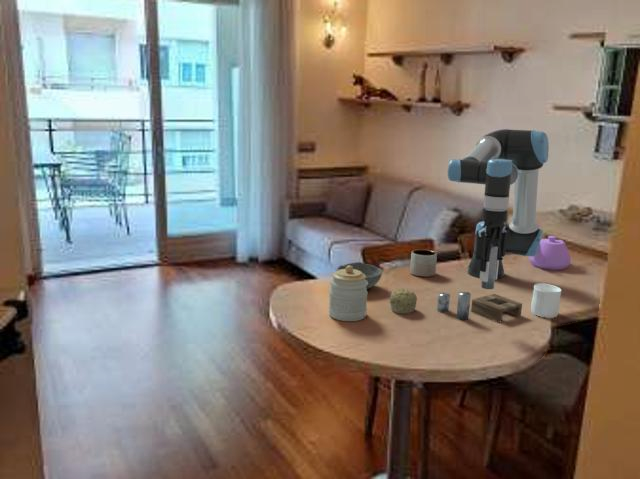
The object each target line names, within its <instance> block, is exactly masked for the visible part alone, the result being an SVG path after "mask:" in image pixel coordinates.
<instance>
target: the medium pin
mask: <svg viewBox="0 0 640 479" xmlns="http://www.w3.org/2000/svg"><path fill="white" fill-rule="evenodd" d="M471 296H472V294H471V293H470V292H468V291H459V292H458V296H457V305H456V320H458V321H462V322H463V321H468V320H469V318H470V316H469V315H470V307H471V306H470V305H471Z"/></svg>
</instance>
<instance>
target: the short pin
mask: <svg viewBox="0 0 640 479" xmlns="http://www.w3.org/2000/svg"><path fill="white" fill-rule="evenodd" d="M437 297H438V298H437V307H436V310H437V312H439V313H448V312H450V310H449V309H450V300H451V294H450V293H447V292H439V293H438V295H437Z"/></svg>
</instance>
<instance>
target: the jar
mask: <svg viewBox="0 0 640 479" xmlns="http://www.w3.org/2000/svg"><path fill="white" fill-rule="evenodd" d="M331 276H332V278H331V279H330V280H329V284H330V289H329V292H328V293H329V306H328V314H329V317H331V318H333V319H334V320H338V321H341V322H342V321H343V322H358V321H361V320H363V319H365V317H366V315H367V311H368V309H367V308H368V307H367V302H368V289H366V286H367V285H368V282H367V281H366V280H365V278H366V275H365V274H363V273H362V272H361V271H359V270H355V269H353V267H352V266H350V265H349V266H347V267H346V269H340V270H338V271H337V270H336V271H335V272H333V274H332V275H331Z"/></svg>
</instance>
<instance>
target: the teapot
mask: <svg viewBox="0 0 640 479" xmlns="http://www.w3.org/2000/svg"><path fill="white" fill-rule="evenodd" d="M547 237H548V238H541V241H540V245H539V248H538V251H537V254H536V255H535V256H533V257H531V256H528V260H529V262H530V263H531V264H532V266H534V267H536V268H539V269H543V270H550V271H551V270H552V271H562V270H565V269H567V267H568V266H570V265H571V255H570V252H569V249H568V247H567V245H566V241H564V240H562V239H557V236H553V235H549V236H547Z"/></svg>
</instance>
